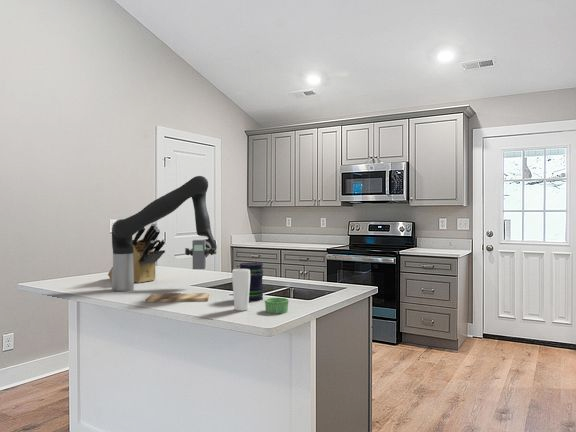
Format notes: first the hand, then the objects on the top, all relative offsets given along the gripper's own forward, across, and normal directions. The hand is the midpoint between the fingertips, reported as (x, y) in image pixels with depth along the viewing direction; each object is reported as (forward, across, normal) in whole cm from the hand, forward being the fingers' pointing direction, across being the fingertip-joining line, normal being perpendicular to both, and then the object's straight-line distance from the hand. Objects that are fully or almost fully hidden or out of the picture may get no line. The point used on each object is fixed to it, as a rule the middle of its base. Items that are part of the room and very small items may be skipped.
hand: (198, 253), depth 191 cm
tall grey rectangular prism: (-3, 0, +7) cm, 7 cm away
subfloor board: (-2, -9, +20) cm, 21 cm away
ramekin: (+26, +31, +20) cm, 45 cm away
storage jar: (+2, +22, +20) cm, 30 cm away
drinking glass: (+22, +18, +20) cm, 34 cm away
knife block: (-56, -38, +20) cm, 71 cm away
